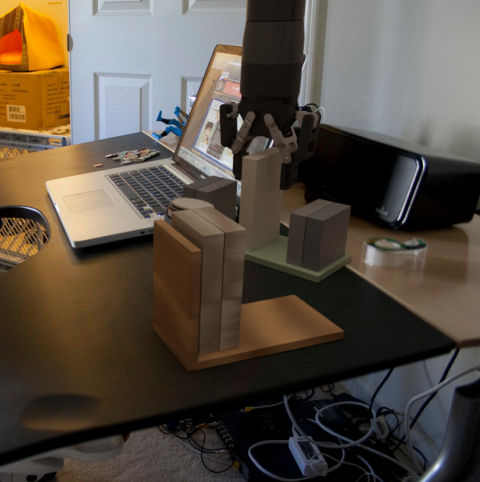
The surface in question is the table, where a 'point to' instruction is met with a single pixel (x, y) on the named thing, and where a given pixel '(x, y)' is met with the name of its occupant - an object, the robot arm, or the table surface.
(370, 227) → the table surface
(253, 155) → the brown tall flat block
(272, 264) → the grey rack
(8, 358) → the table surface
